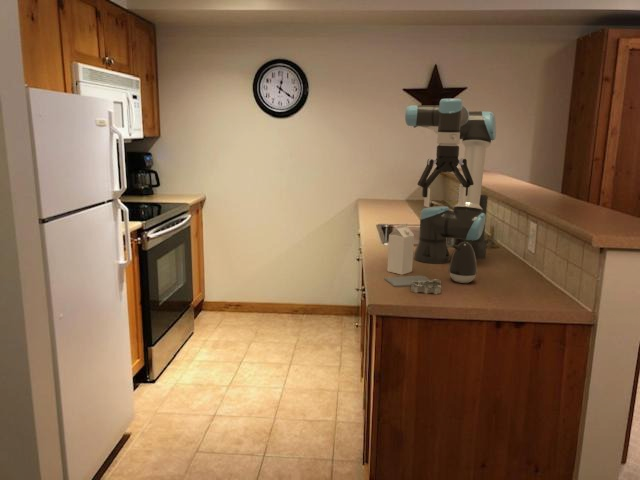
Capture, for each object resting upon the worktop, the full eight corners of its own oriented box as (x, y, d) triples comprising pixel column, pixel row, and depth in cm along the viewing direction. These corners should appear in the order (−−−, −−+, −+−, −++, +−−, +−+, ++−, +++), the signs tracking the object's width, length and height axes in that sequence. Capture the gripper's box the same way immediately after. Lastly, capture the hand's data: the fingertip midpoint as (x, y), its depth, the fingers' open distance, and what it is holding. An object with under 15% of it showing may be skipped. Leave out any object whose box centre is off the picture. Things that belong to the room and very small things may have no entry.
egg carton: (441, 289, 191) (441, 278, 190) (440, 295, 184) (441, 284, 183) (410, 287, 193) (411, 276, 192) (409, 293, 186) (410, 281, 185)
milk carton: (387, 271, 213) (389, 224, 209) (397, 268, 218) (399, 222, 214) (402, 275, 208) (404, 227, 204) (412, 271, 213) (414, 225, 209)
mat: (423, 277, 206) (423, 275, 206) (435, 284, 196) (435, 283, 196) (384, 279, 202) (384, 277, 202) (394, 287, 192) (394, 285, 192)
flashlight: (481, 255, 245) (466, 255, 244) (486, 194, 239) (471, 194, 238) (488, 258, 238) (472, 258, 237) (493, 196, 232) (478, 196, 231)
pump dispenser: (442, 279, 204) (444, 240, 200) (464, 276, 208) (467, 238, 204) (458, 286, 194) (462, 245, 191) (481, 283, 198) (485, 243, 195)
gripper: (418, 145, 178) (415, 208, 182) (486, 145, 183) (481, 206, 188) (410, 144, 185) (407, 205, 190) (475, 144, 190) (471, 203, 195)
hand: (444, 205), depth 189 cm, fingers open, 13 cm apart
